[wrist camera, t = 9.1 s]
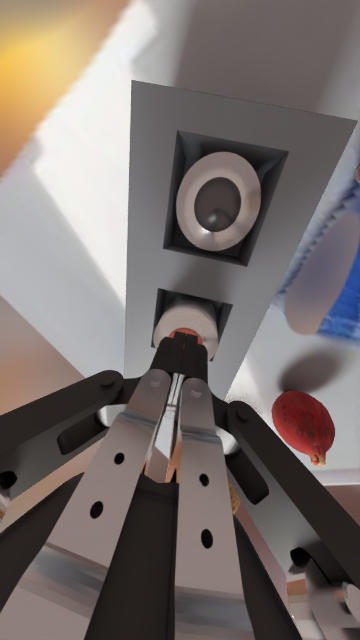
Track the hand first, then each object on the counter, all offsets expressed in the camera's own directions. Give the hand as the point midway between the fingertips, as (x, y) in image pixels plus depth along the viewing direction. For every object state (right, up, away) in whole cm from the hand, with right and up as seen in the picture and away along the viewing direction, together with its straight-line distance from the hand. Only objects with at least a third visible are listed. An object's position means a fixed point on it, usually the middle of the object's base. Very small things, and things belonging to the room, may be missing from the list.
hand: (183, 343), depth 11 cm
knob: (+2, +10, +1) cm, 10 cm away
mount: (+1, +4, +7) cm, 8 cm away
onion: (+14, -8, +12) cm, 20 cm away
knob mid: (+1, +2, +4) cm, 4 cm away
